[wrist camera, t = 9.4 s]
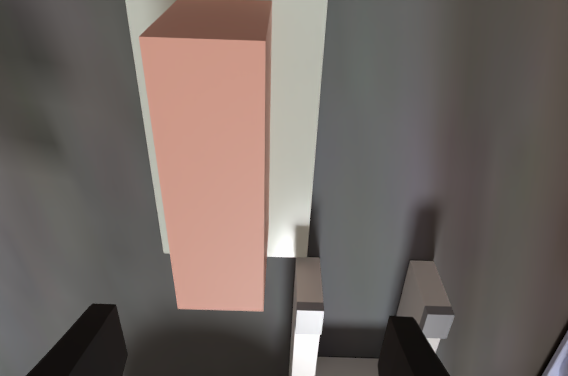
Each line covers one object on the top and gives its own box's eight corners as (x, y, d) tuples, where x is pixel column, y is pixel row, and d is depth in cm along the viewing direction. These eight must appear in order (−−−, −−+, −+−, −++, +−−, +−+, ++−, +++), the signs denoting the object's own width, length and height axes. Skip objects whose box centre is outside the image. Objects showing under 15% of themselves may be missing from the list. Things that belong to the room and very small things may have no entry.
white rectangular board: (329, -39, 15) (330, -37, 15) (306, 249, 23) (307, 257, 22) (124, -47, 15) (118, -45, 15) (166, 245, 22) (163, 253, 22)
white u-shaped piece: (433, 261, 23) (458, 324, 20) (391, 407, 30) (403, 472, 27) (296, 256, 23) (297, 319, 19) (286, 404, 30) (286, 468, 27)
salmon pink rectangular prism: (272, 1, 16) (265, 40, 11) (268, 228, 21) (263, 311, 17) (179, -3, 16) (138, 36, 11) (200, 226, 21) (177, 308, 17)
